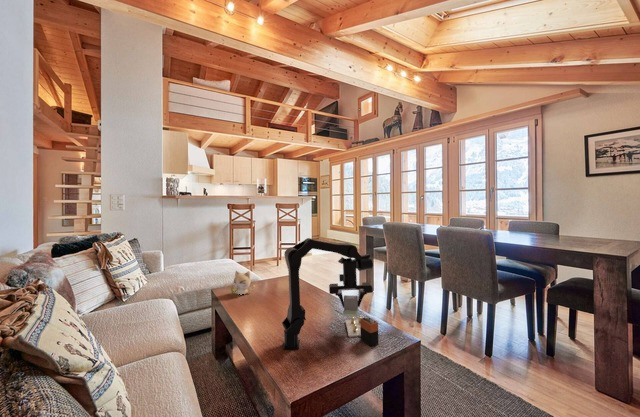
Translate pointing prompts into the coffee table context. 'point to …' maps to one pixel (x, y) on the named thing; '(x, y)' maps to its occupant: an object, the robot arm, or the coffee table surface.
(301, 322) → the robot arm
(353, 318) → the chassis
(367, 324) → the battery
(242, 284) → the kitten
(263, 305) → the coffee table surface
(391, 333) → the coffee table surface
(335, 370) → the coffee table surface
